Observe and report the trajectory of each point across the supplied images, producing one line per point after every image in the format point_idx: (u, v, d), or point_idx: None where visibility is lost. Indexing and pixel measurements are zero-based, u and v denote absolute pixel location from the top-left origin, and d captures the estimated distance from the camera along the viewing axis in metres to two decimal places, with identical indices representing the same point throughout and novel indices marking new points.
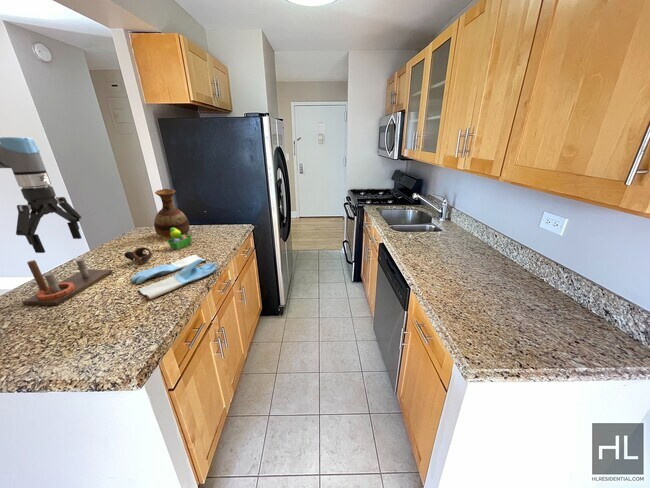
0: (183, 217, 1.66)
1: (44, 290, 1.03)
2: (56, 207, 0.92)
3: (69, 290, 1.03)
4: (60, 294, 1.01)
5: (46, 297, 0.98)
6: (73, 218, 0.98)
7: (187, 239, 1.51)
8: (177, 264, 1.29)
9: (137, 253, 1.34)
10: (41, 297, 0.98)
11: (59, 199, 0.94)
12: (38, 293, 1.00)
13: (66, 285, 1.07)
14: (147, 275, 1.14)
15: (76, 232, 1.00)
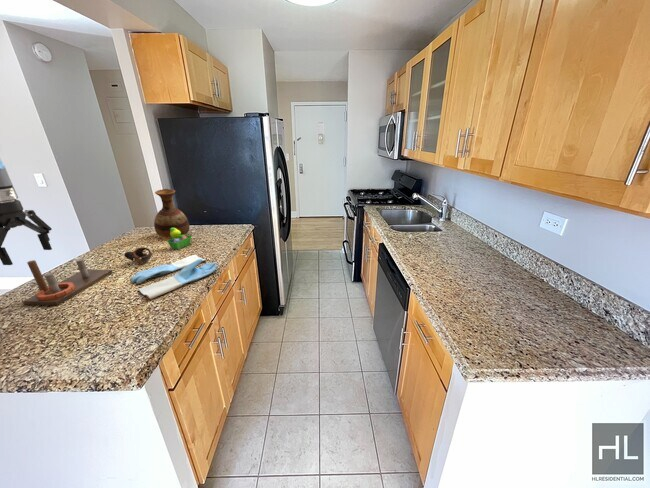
0: (183, 217, 1.66)
1: (44, 290, 1.03)
2: (24, 220, 0.95)
3: (69, 290, 1.03)
4: (60, 294, 1.01)
5: (46, 297, 0.98)
6: (43, 230, 1.01)
7: (187, 239, 1.51)
8: (177, 264, 1.29)
9: (137, 253, 1.34)
10: (41, 297, 0.98)
11: (28, 212, 0.97)
12: (38, 293, 1.00)
13: (66, 285, 1.07)
14: (147, 275, 1.14)
15: (46, 243, 1.03)
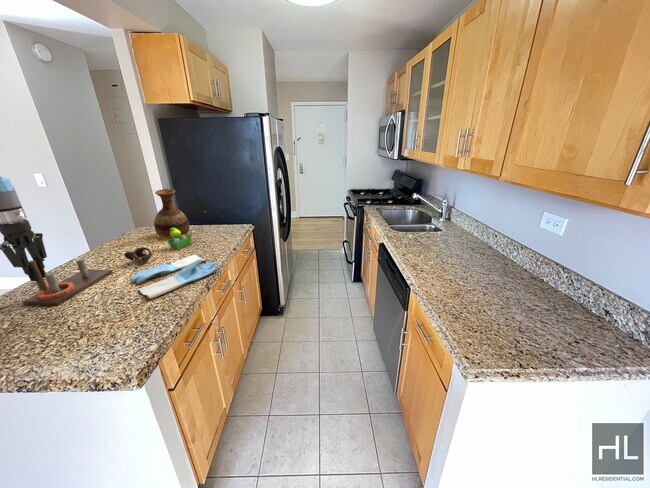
0: (183, 217, 1.66)
1: (44, 290, 1.03)
2: None
3: (69, 290, 1.03)
4: (60, 294, 1.01)
5: (46, 297, 0.98)
6: (39, 257, 1.00)
7: (187, 239, 1.51)
8: (177, 264, 1.29)
9: (137, 253, 1.34)
10: (41, 297, 0.98)
11: (36, 234, 1.00)
12: (38, 293, 1.00)
13: (66, 285, 1.07)
14: (147, 275, 1.14)
15: (41, 271, 1.01)
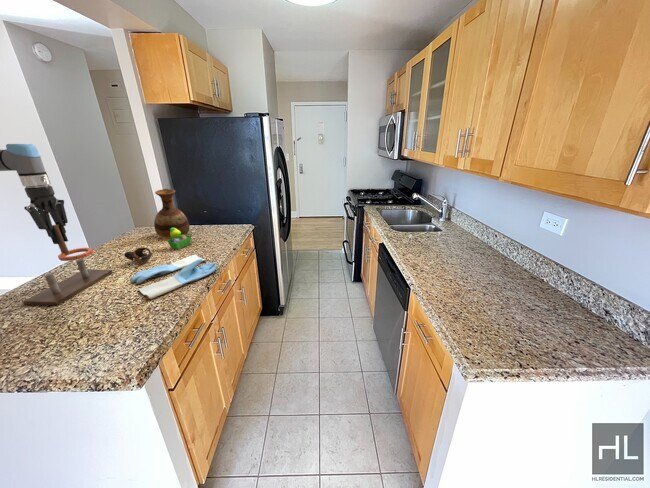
0: (183, 217, 1.66)
1: (65, 253, 1.10)
2: (55, 204, 1.05)
3: (88, 253, 1.11)
4: (80, 256, 1.08)
5: (68, 258, 1.06)
6: (61, 222, 1.08)
7: (187, 239, 1.51)
8: (177, 264, 1.29)
9: (137, 253, 1.34)
10: (63, 258, 1.06)
11: (58, 200, 1.08)
12: (60, 255, 1.08)
13: (85, 250, 1.15)
14: (147, 275, 1.14)
15: (63, 235, 1.09)
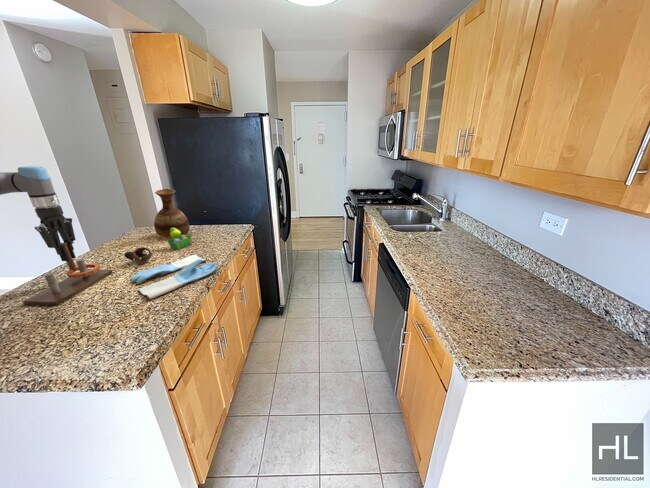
0: (183, 217, 1.66)
1: (73, 270, 1.14)
2: (64, 223, 1.09)
3: (96, 270, 1.14)
4: (88, 273, 1.12)
5: (76, 275, 1.10)
6: (69, 239, 1.12)
7: (187, 239, 1.51)
8: (177, 264, 1.29)
9: (137, 253, 1.34)
10: (72, 275, 1.09)
11: (67, 219, 1.11)
12: (68, 272, 1.11)
13: (92, 266, 1.18)
14: (147, 275, 1.14)
15: (71, 252, 1.13)
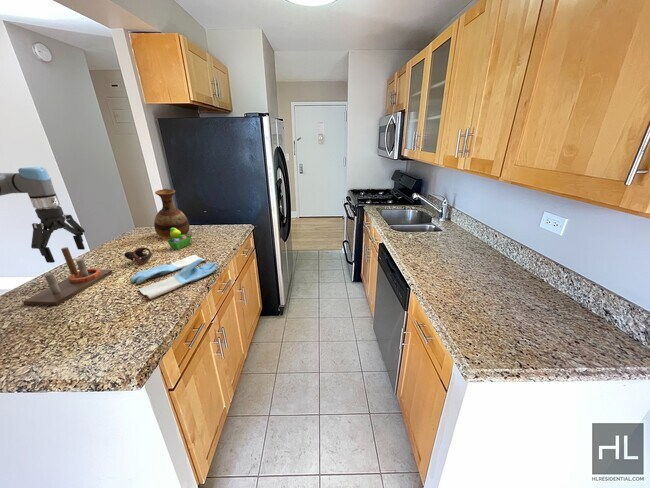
0: (183, 217, 1.66)
1: (75, 274, 1.15)
2: (64, 223, 1.09)
3: (97, 274, 1.15)
4: (90, 277, 1.13)
5: (77, 280, 1.10)
6: (78, 232, 1.15)
7: (187, 239, 1.51)
8: (177, 264, 1.29)
9: (137, 253, 1.34)
10: (73, 280, 1.10)
11: (66, 216, 1.11)
12: (70, 277, 1.12)
13: (93, 270, 1.19)
14: (147, 275, 1.14)
15: (80, 244, 1.17)
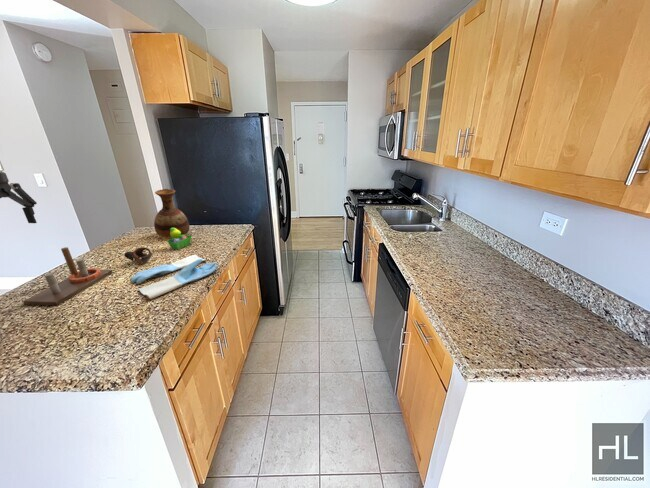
0: (183, 217, 1.66)
1: (75, 274, 1.15)
2: (9, 192, 0.98)
3: (97, 274, 1.15)
4: (90, 277, 1.13)
5: (77, 280, 1.10)
6: (28, 203, 1.05)
7: (187, 239, 1.51)
8: (177, 264, 1.29)
9: (137, 253, 1.34)
10: (73, 280, 1.10)
11: (13, 185, 1.00)
12: (70, 277, 1.12)
13: (93, 270, 1.19)
14: (147, 275, 1.14)
15: (31, 217, 1.06)
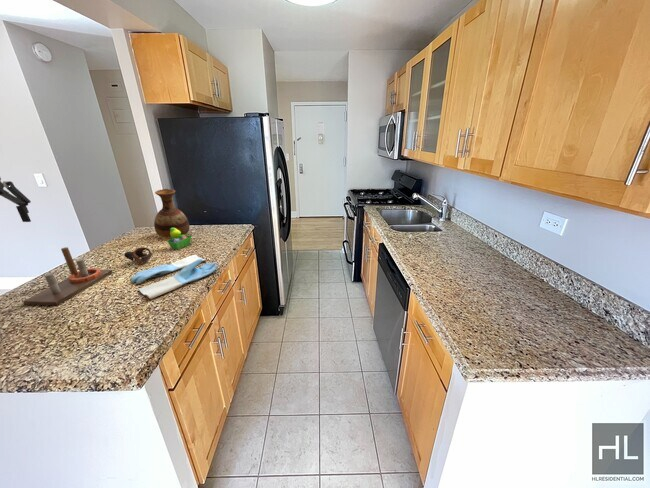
0: (183, 217, 1.66)
1: (75, 274, 1.15)
2: (2, 190, 0.97)
3: (97, 274, 1.15)
4: (90, 277, 1.13)
5: (77, 280, 1.10)
6: (21, 202, 1.04)
7: (187, 239, 1.51)
8: (177, 264, 1.29)
9: (137, 253, 1.34)
10: (73, 280, 1.10)
11: (6, 183, 0.99)
12: (70, 277, 1.12)
13: (93, 270, 1.19)
14: (147, 275, 1.14)
15: (25, 215, 1.05)
